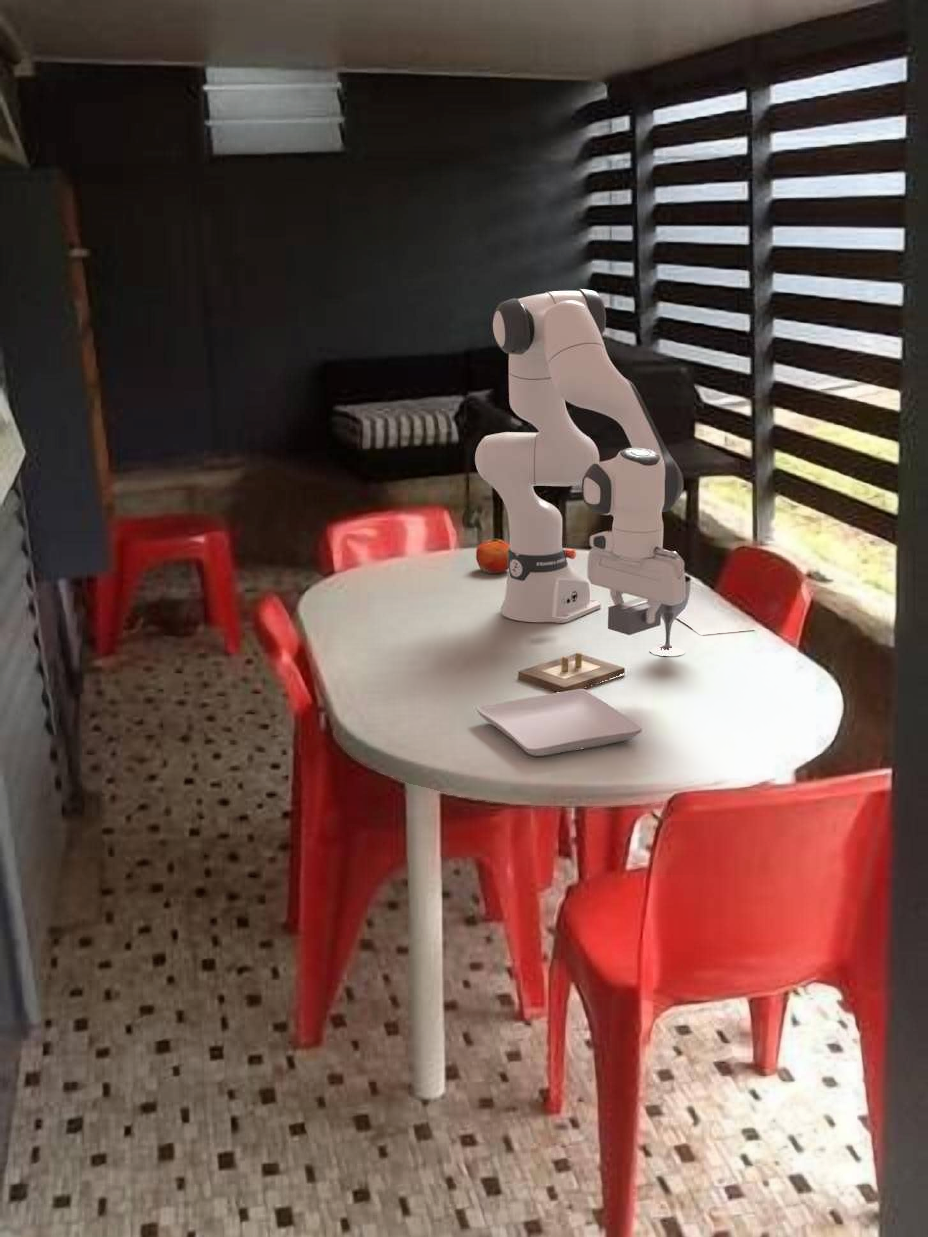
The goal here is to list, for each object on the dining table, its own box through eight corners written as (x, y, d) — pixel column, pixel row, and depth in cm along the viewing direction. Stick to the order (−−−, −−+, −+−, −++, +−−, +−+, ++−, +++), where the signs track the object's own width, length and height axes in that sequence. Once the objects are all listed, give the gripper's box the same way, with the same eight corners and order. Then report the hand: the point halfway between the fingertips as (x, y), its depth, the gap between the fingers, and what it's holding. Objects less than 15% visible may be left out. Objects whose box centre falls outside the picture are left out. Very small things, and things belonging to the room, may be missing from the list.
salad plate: (528, 768, 215) (529, 747, 214) (473, 723, 233) (473, 704, 232) (645, 747, 223) (646, 727, 222) (582, 705, 241) (583, 687, 240)
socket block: (639, 618, 248) (639, 597, 247) (660, 625, 244) (661, 602, 243) (607, 628, 243) (608, 606, 241) (629, 635, 239) (629, 612, 238)
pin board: (577, 660, 264) (578, 639, 263) (624, 675, 256) (625, 654, 254) (518, 678, 254) (518, 657, 253) (564, 695, 245) (565, 673, 244)
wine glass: (695, 651, 269) (699, 577, 265) (672, 660, 264) (675, 585, 259) (662, 642, 275) (665, 570, 270) (638, 651, 269) (641, 578, 265)
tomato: (500, 578, 323) (501, 545, 320) (468, 572, 327) (467, 540, 325) (521, 569, 330) (521, 537, 328) (488, 564, 335) (488, 532, 332)
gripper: (695, 550, 233) (692, 627, 238) (606, 529, 248) (604, 602, 252) (671, 557, 229) (668, 635, 234) (582, 535, 244) (580, 609, 248)
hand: (634, 618), depth 243 cm, fingers closed on socket block, 5 cm apart
